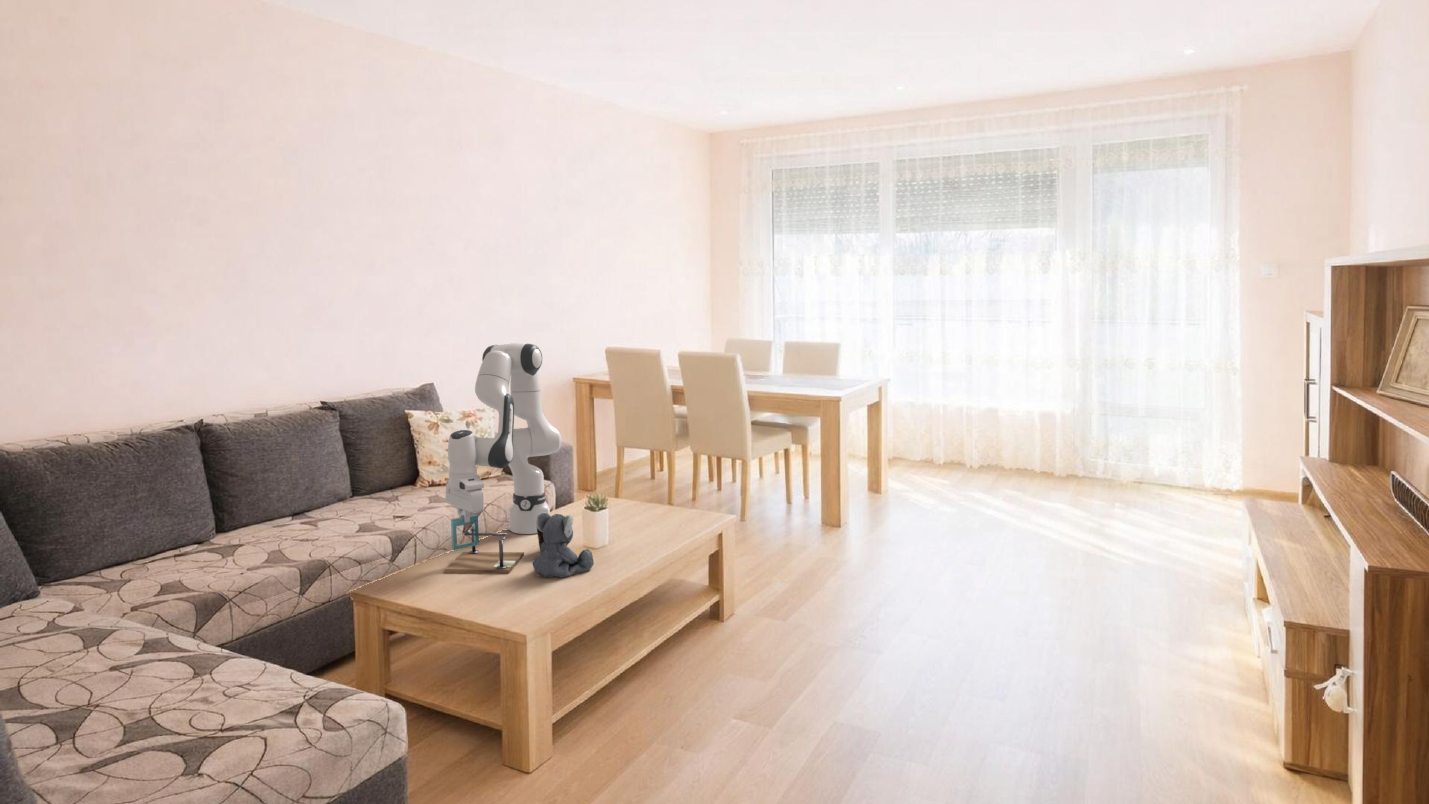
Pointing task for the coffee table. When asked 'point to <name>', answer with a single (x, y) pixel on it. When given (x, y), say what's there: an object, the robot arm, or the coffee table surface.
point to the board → (484, 562)
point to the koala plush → (559, 548)
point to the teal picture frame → (460, 522)
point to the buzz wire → (489, 535)
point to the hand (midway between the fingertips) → (464, 521)
